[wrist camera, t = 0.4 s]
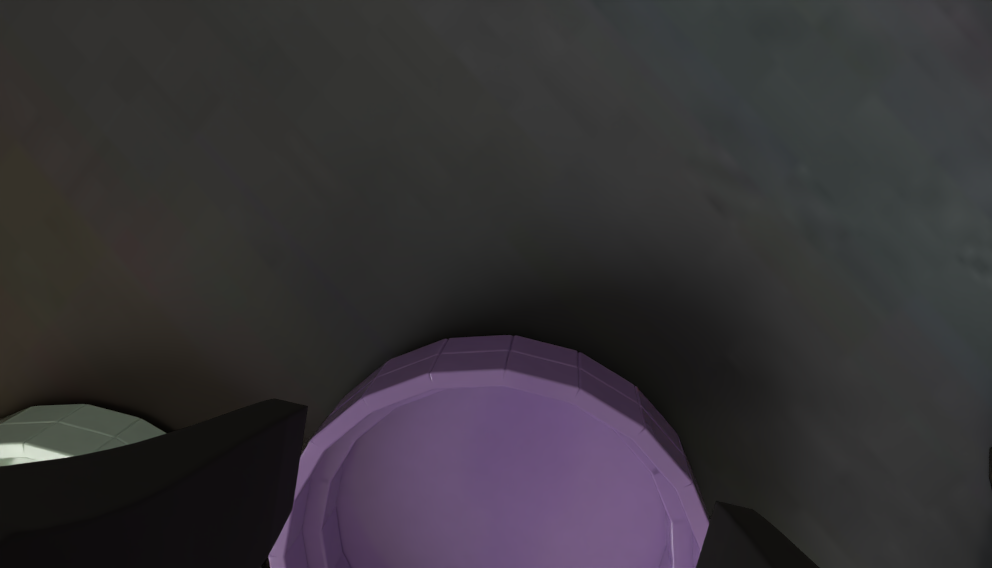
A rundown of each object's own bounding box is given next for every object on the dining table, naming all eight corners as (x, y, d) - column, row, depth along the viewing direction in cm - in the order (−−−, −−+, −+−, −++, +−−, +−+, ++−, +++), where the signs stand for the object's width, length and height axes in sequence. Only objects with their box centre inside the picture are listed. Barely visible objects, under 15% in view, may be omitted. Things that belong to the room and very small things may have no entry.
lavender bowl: (636, 722, 25) (646, 814, 22) (283, 626, 26) (241, 703, 23) (751, 389, 22) (783, 439, 19) (346, 287, 23) (307, 318, 19)
